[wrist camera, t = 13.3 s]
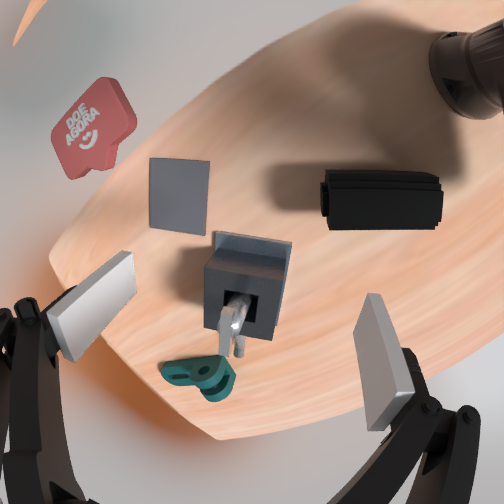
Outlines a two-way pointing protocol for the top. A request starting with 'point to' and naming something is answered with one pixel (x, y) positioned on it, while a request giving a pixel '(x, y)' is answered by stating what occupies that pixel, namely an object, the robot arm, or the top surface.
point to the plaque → (93, 129)
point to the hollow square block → (246, 282)
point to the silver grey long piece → (232, 320)
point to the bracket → (202, 375)
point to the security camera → (381, 200)
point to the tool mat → (179, 195)
